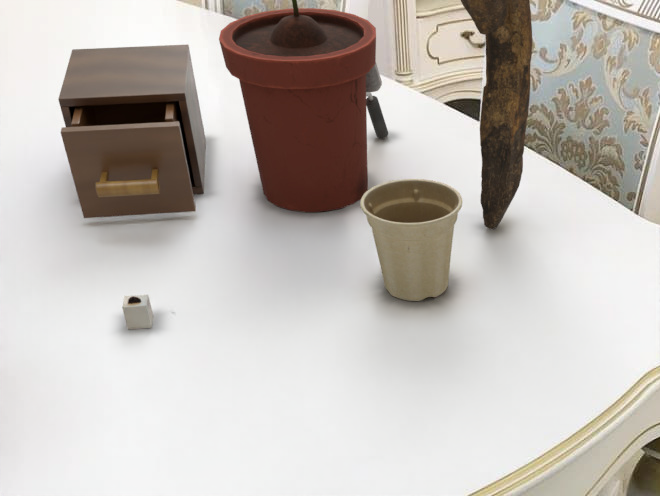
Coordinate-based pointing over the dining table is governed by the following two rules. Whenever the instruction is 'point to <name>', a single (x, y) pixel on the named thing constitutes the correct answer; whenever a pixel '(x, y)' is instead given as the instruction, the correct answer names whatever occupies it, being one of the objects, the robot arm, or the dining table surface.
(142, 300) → the cube with dark pebbles
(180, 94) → the dresser
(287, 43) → the potted plant
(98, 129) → the drawer
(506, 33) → the sculpture
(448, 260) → the flower pot
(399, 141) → the dining table surface
